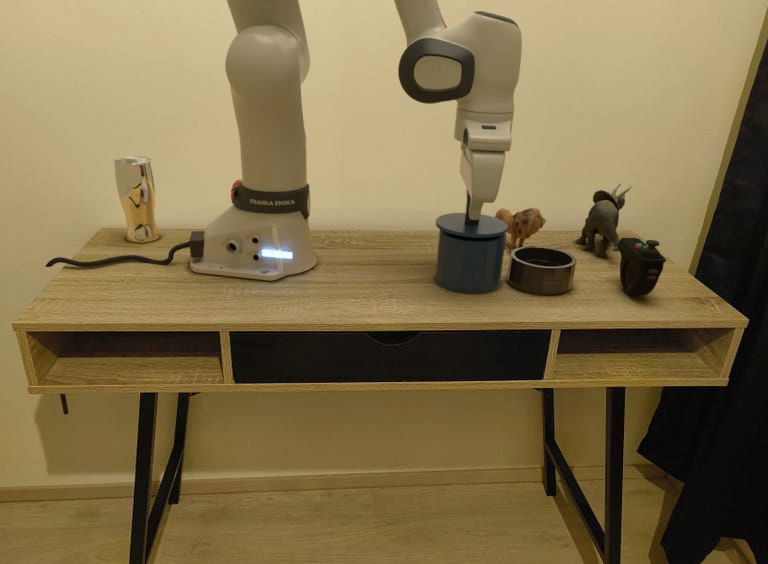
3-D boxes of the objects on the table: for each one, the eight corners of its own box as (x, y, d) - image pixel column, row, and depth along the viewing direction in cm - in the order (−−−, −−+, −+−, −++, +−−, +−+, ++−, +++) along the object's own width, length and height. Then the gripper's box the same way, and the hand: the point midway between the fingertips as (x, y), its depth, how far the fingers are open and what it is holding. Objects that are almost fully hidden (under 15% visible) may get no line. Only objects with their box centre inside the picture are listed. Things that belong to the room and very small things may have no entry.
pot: (438, 292, 114) (442, 240, 109) (433, 268, 123) (437, 220, 119) (503, 294, 114) (510, 243, 109) (494, 271, 123) (500, 222, 119)
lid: (437, 239, 109) (441, 204, 106) (433, 217, 119) (435, 185, 117) (512, 243, 109) (517, 208, 106) (501, 221, 119) (505, 188, 117)
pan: (512, 294, 114) (516, 266, 111) (502, 271, 123) (506, 245, 121) (578, 297, 114) (583, 269, 111) (563, 273, 123) (567, 247, 121)
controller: (632, 305, 111) (646, 247, 106) (606, 278, 122) (618, 223, 117) (658, 306, 111) (673, 247, 107) (630, 278, 122) (642, 224, 117)
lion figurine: (544, 254, 132) (552, 209, 128) (525, 259, 130) (532, 212, 125) (492, 233, 143) (498, 191, 139) (473, 237, 140) (478, 194, 136)
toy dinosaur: (615, 270, 126) (628, 210, 120) (569, 263, 128) (579, 204, 123) (620, 236, 144) (631, 183, 139) (579, 231, 146) (588, 178, 141)
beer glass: (133, 231, 137) (123, 155, 130) (166, 233, 136) (158, 157, 129) (118, 242, 131) (106, 162, 124) (152, 244, 130) (142, 165, 123)
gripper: (456, 117, 115) (448, 197, 122) (470, 139, 97) (459, 233, 104) (493, 119, 116) (483, 199, 122) (513, 141, 98) (500, 235, 104)
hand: (472, 215), depth 113 cm, fingers closed on lid, 2 cm apart
